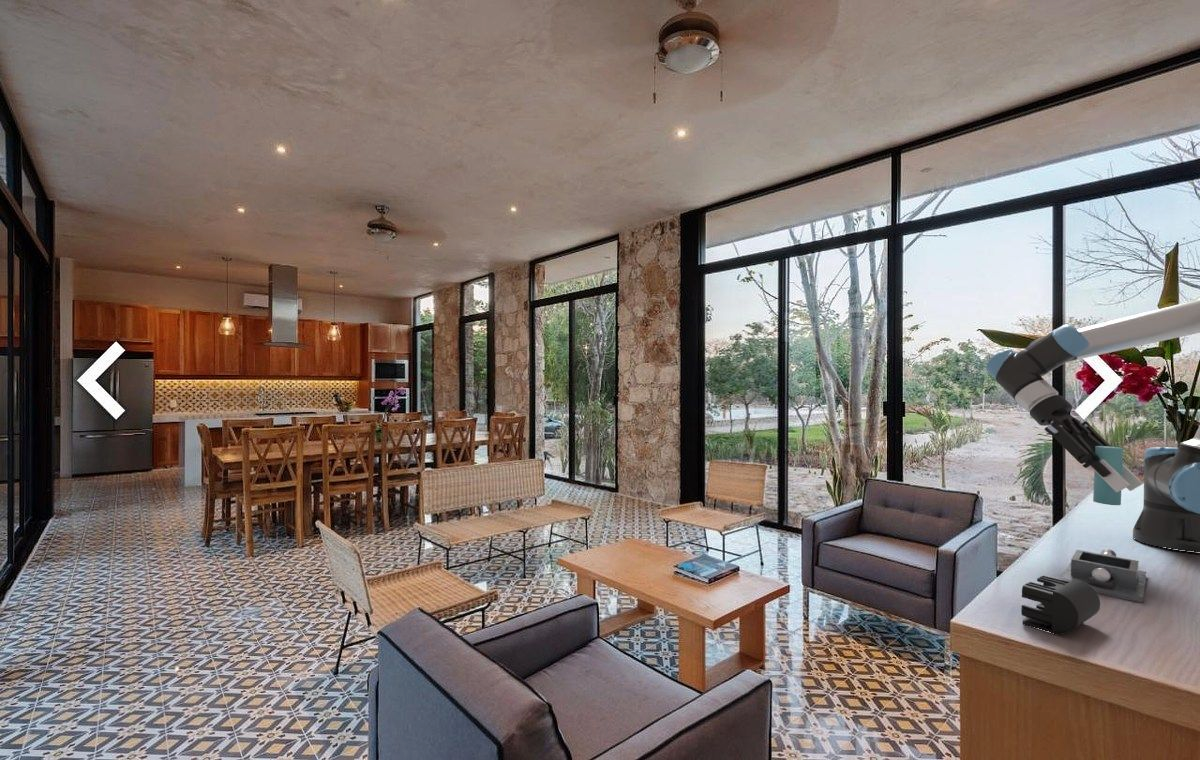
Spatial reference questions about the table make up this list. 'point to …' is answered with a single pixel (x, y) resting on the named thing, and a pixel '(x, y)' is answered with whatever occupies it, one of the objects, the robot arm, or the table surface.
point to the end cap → (1059, 604)
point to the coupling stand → (1108, 574)
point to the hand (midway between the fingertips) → (1129, 487)
